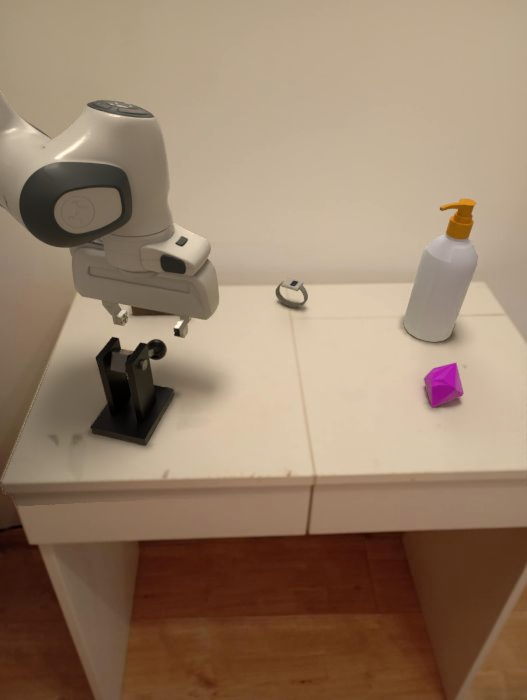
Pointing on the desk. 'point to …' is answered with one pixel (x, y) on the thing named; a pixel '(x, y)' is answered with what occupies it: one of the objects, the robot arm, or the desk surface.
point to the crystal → (443, 384)
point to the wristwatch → (293, 286)
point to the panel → (147, 311)
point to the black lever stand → (130, 396)
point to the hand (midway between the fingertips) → (150, 328)
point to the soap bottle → (443, 278)
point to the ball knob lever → (120, 357)
